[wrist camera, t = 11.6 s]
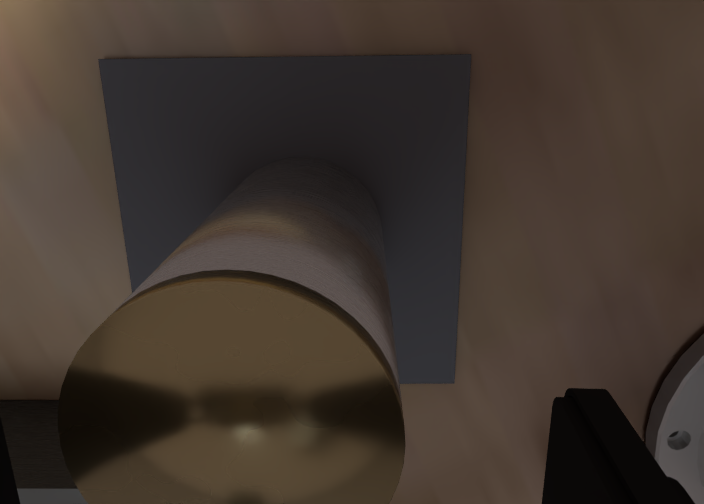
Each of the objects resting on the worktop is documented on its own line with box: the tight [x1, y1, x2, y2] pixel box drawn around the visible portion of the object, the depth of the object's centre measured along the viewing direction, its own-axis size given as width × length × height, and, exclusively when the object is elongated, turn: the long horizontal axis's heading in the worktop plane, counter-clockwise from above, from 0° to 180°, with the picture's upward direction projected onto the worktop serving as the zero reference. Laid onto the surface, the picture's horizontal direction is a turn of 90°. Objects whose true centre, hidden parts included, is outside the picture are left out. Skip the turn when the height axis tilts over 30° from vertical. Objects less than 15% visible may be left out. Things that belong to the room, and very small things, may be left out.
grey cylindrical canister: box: [58, 157, 405, 504], centre depth 15 cm, size 6×6×12 cm
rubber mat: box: [98, 54, 471, 384], centre depth 20 cm, size 12×12×1 cm
